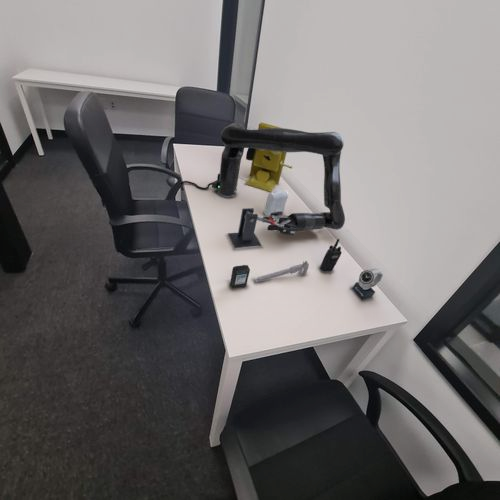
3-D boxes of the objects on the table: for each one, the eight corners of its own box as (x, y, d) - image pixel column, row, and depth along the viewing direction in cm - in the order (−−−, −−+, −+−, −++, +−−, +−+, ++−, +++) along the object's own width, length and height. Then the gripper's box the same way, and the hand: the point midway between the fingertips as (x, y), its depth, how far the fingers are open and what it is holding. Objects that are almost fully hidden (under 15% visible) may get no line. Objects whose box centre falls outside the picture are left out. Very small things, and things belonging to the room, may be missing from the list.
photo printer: (278, 210, 131) (285, 187, 123) (283, 214, 128) (290, 191, 121) (262, 213, 125) (267, 189, 118) (267, 218, 123) (273, 194, 115)
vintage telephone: (229, 179, 148) (237, 123, 129) (237, 171, 158) (245, 118, 140) (282, 195, 144) (298, 139, 125) (287, 186, 155) (302, 133, 136)
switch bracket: (252, 233, 111) (259, 205, 102) (260, 247, 104) (268, 217, 96) (227, 235, 107) (232, 206, 98) (234, 249, 100) (240, 219, 92)
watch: (347, 289, 94) (361, 267, 88) (364, 285, 98) (378, 263, 91) (358, 301, 90) (372, 279, 84) (374, 297, 94) (390, 275, 87)
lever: (269, 221, 107) (272, 216, 106) (274, 228, 103) (277, 224, 102) (242, 214, 100) (245, 208, 99) (247, 221, 96) (250, 216, 95)
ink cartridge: (231, 289, 84) (235, 271, 80) (229, 284, 86) (233, 266, 81) (246, 287, 86) (250, 269, 81) (243, 282, 88) (247, 264, 83)
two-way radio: (321, 273, 99) (336, 241, 90) (316, 265, 102) (330, 233, 93) (333, 272, 100) (350, 241, 91) (328, 264, 104) (343, 233, 94)
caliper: (304, 272, 97) (309, 259, 93) (305, 274, 96) (311, 261, 93) (253, 280, 89) (257, 267, 85) (255, 283, 89) (258, 269, 85)
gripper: (296, 205, 113) (260, 205, 106) (313, 224, 103) (275, 226, 96) (291, 220, 117) (256, 221, 111) (307, 239, 107) (270, 242, 101)
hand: (265, 223), depth 103 cm, fingers closed on lever, 5 cm apart
